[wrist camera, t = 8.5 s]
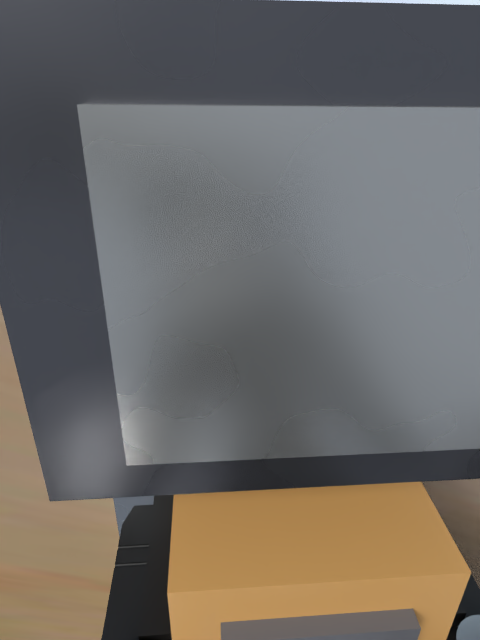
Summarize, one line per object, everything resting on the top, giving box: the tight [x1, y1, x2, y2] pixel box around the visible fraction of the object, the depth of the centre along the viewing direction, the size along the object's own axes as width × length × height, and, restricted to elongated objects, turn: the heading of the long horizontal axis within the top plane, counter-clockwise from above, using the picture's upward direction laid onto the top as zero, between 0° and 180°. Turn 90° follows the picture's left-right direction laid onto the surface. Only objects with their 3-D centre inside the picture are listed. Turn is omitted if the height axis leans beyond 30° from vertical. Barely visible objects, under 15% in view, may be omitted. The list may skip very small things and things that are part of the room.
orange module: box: [167, 482, 471, 640], centre depth 10 cm, size 6×4×5 cm
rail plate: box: [0, 0, 480, 536], centre depth 11 cm, size 9×20×8 cm, turn 0°
